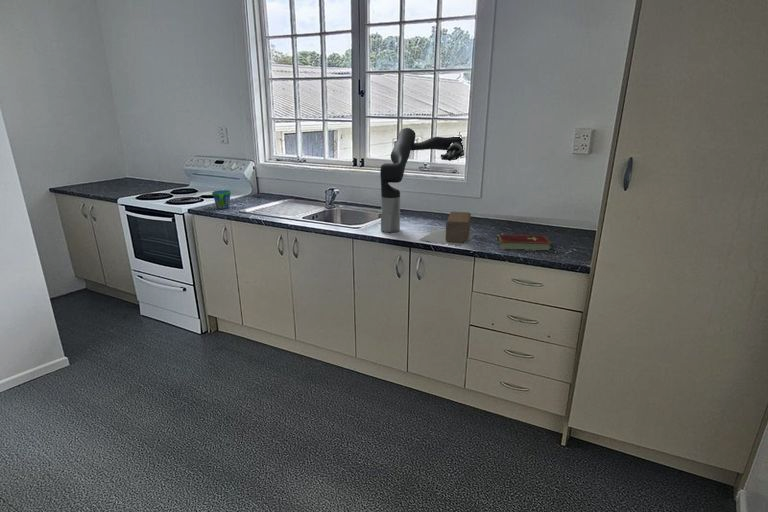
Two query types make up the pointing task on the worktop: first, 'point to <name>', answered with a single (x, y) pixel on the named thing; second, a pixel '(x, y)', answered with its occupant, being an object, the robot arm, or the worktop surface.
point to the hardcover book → (523, 242)
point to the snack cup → (222, 198)
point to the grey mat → (441, 237)
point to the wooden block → (458, 227)
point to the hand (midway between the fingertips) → (449, 158)
